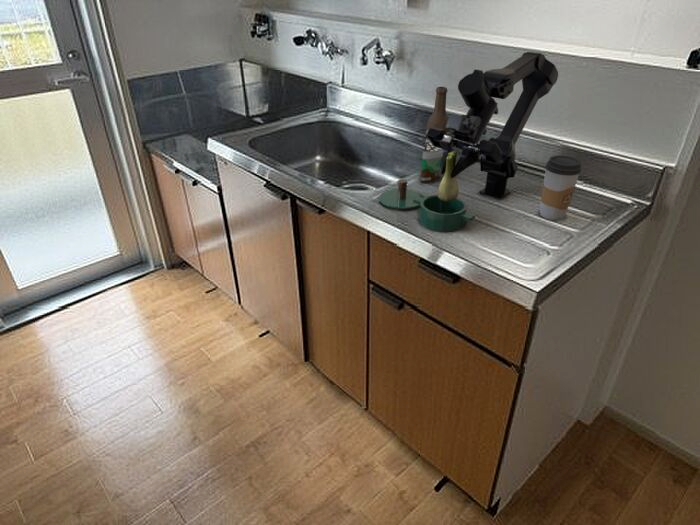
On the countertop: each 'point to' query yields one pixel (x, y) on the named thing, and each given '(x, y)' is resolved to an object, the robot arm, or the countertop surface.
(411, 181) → the countertop surface
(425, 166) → the green food package
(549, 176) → the coffee cup
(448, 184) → the fennel bulb
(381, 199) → the lid
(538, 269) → the countertop surface
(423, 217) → the pot
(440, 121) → the beer bottle
